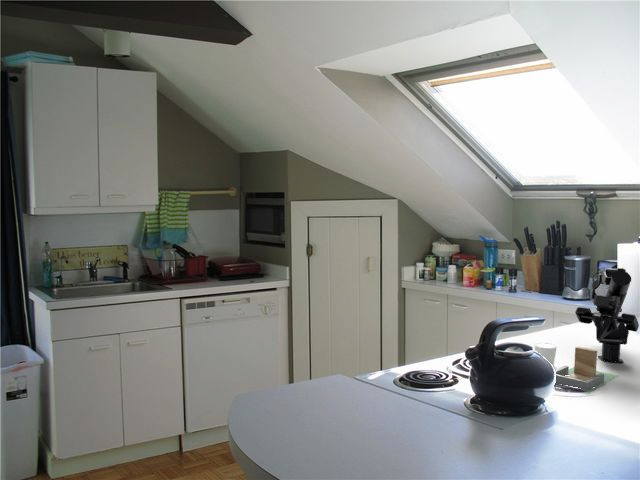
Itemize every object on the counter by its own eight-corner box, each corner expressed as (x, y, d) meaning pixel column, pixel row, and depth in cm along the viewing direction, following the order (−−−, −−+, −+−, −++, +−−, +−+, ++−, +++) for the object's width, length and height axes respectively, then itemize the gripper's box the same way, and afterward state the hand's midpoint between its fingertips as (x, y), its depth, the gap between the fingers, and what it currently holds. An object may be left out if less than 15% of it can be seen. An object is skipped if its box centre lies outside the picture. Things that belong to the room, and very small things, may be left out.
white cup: (552, 363, 230) (553, 342, 229) (557, 369, 223) (558, 348, 222) (531, 362, 230) (532, 342, 230) (536, 368, 224) (537, 347, 223)
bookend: (576, 374, 217) (578, 346, 216) (595, 378, 213) (597, 350, 212) (560, 382, 209) (562, 353, 208) (580, 386, 205) (581, 357, 204)
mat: (575, 367, 226) (575, 366, 226) (619, 376, 216) (619, 375, 216) (544, 382, 210) (544, 381, 210) (589, 393, 200) (589, 392, 200)
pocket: (564, 373, 218) (564, 365, 218) (603, 382, 209) (604, 374, 209) (547, 381, 210) (547, 373, 209) (587, 391, 201) (587, 382, 201)
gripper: (579, 282, 228) (562, 320, 221) (637, 289, 215) (621, 330, 208) (588, 302, 234) (572, 340, 227) (645, 311, 221) (630, 351, 214)
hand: (597, 339), depth 219 cm, fingers closed
